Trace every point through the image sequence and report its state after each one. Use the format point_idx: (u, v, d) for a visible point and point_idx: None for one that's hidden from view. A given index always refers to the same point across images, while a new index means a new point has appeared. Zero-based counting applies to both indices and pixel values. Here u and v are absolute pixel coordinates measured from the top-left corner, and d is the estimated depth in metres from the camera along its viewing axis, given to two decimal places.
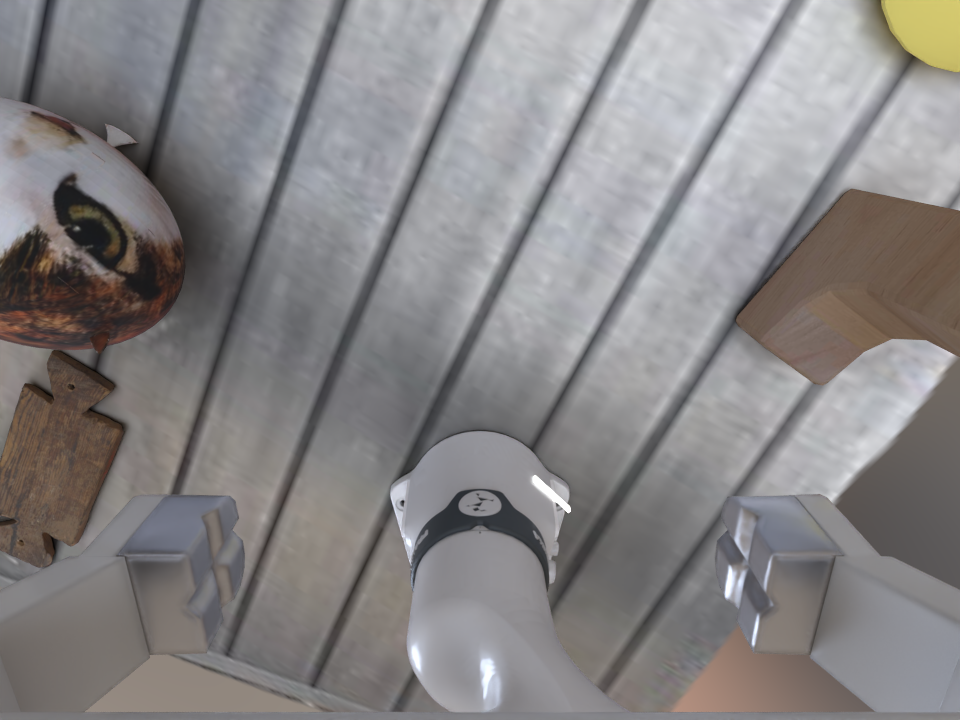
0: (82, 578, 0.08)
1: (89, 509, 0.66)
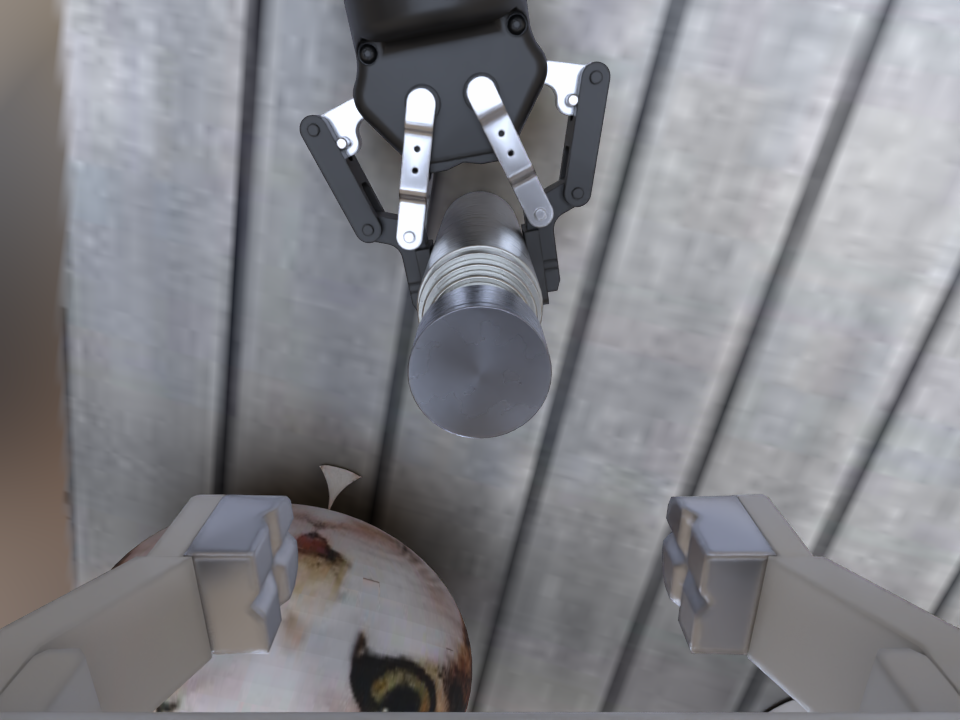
0: (152, 578, 0.08)
1: None
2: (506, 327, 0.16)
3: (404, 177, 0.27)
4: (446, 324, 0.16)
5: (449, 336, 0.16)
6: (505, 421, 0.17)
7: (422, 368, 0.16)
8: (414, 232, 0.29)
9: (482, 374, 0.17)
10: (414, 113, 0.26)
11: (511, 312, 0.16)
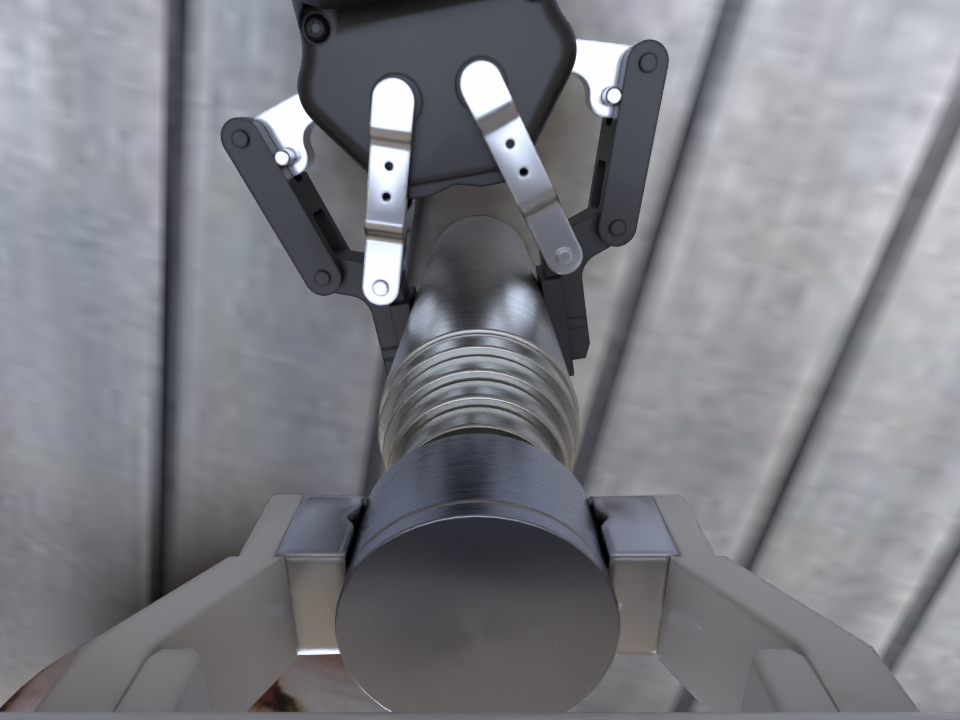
0: (249, 578, 0.08)
1: None
2: (532, 553, 0.08)
3: (371, 206, 0.19)
4: (409, 548, 0.08)
5: (416, 569, 0.08)
6: (527, 709, 0.09)
7: (363, 624, 0.08)
8: (387, 281, 0.20)
9: (483, 633, 0.08)
10: (384, 115, 0.18)
11: (542, 524, 0.08)
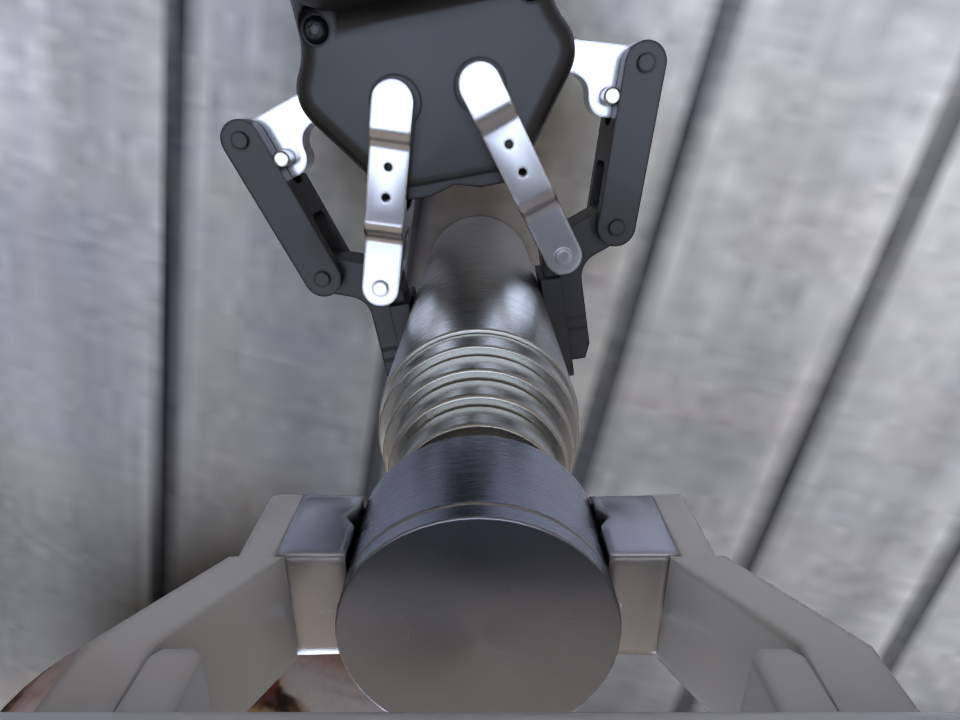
0: (250, 578, 0.08)
1: None
2: (392, 575, 0.08)
3: (370, 207, 0.19)
4: (361, 661, 0.08)
5: (386, 663, 0.08)
6: (593, 619, 0.08)
7: None
8: (387, 282, 0.20)
9: (478, 632, 0.08)
10: (382, 116, 0.18)
11: (364, 558, 0.08)
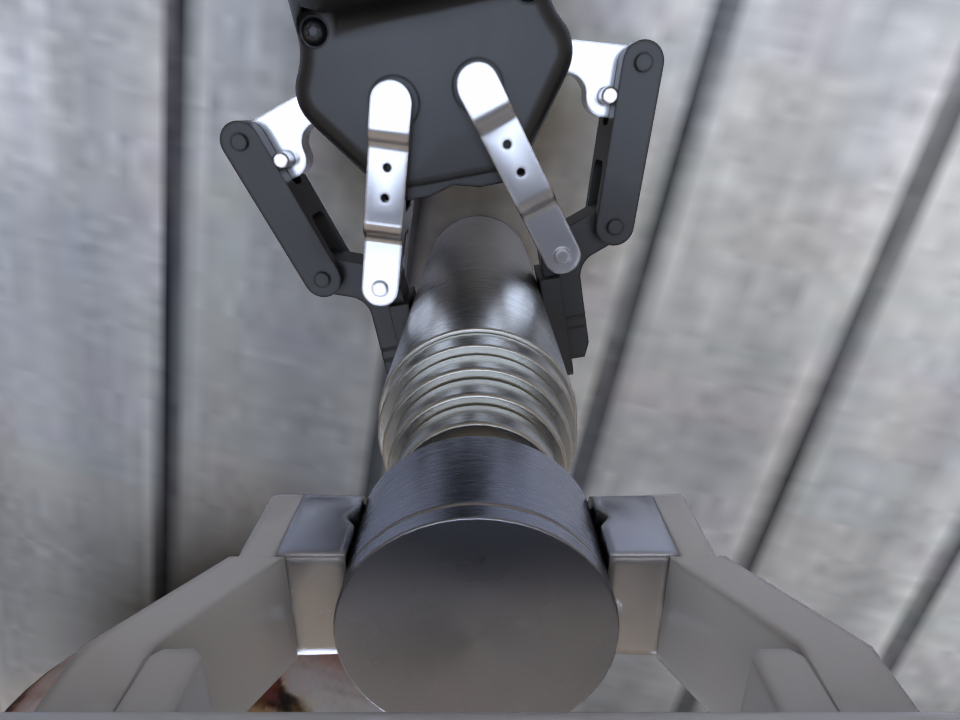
0: (250, 578, 0.08)
1: None
2: (383, 681, 0.09)
3: (370, 207, 0.19)
4: None
5: (484, 710, 0.09)
6: (484, 543, 0.08)
7: (562, 690, 0.09)
8: (386, 282, 0.21)
9: (470, 636, 0.08)
10: (381, 117, 0.18)
11: (362, 691, 0.09)
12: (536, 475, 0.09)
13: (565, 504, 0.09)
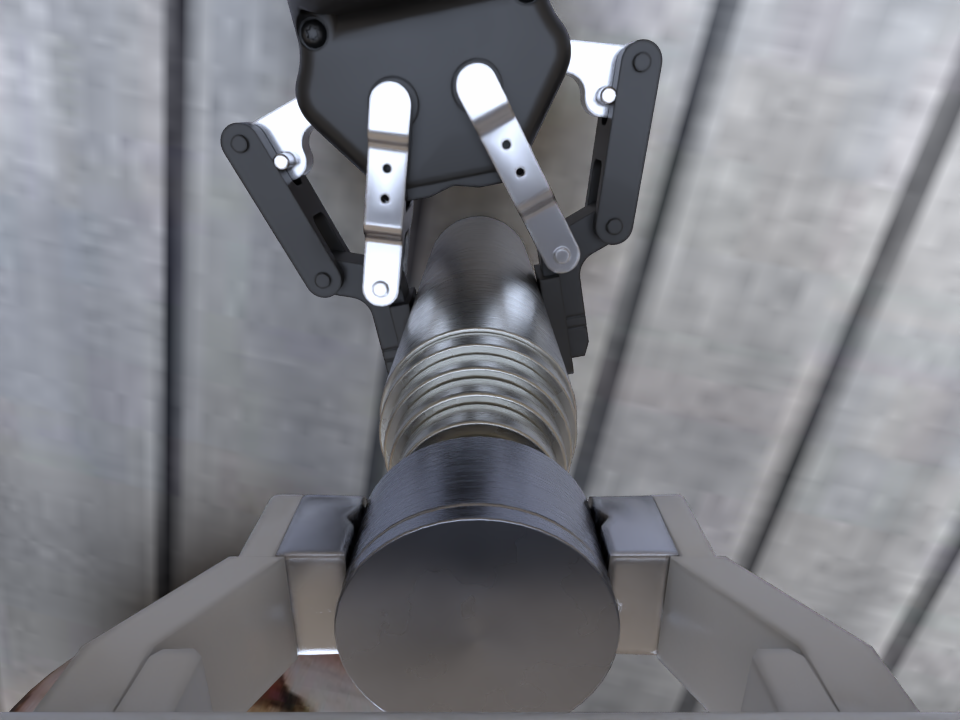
0: (249, 578, 0.08)
1: None
2: None
3: (370, 208, 0.19)
4: (593, 662, 0.09)
5: (574, 652, 0.08)
6: (365, 608, 0.08)
7: (573, 585, 0.08)
8: (387, 282, 0.21)
9: (473, 641, 0.08)
10: (381, 118, 0.18)
11: None
12: (379, 501, 0.09)
13: (401, 496, 0.09)
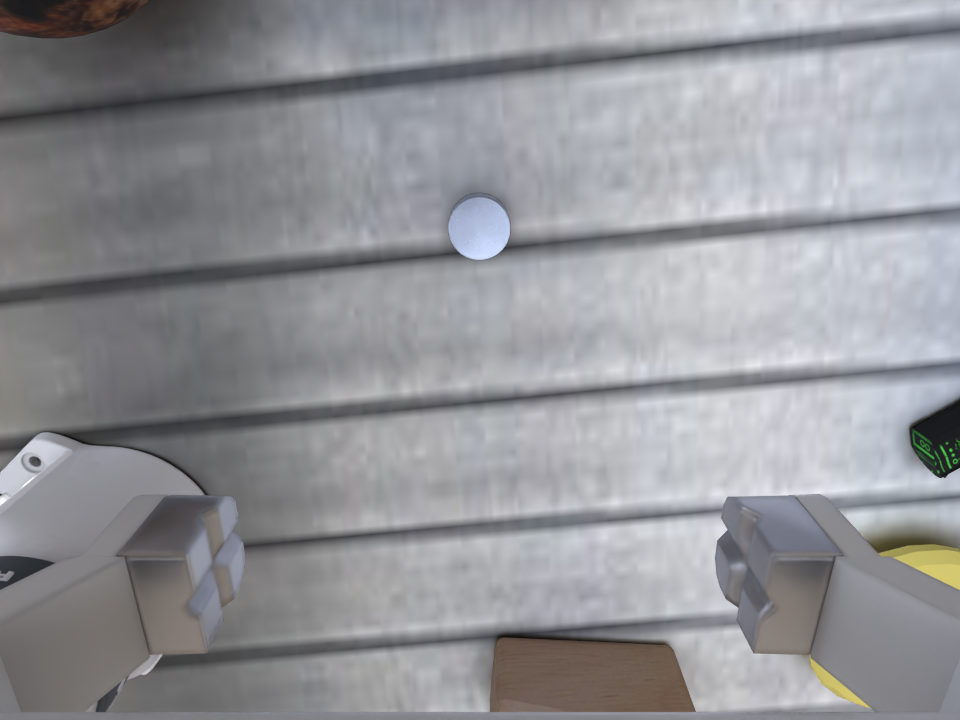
0: (82, 578, 0.08)
1: None
2: (485, 204, 0.38)
3: None
4: (460, 209, 0.38)
5: (462, 214, 0.38)
6: (495, 248, 0.38)
7: (454, 231, 0.38)
8: None
9: (480, 228, 0.38)
10: None
11: (486, 197, 0.37)
12: None
13: None
